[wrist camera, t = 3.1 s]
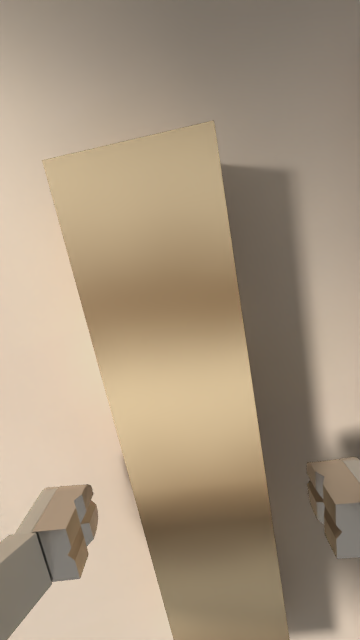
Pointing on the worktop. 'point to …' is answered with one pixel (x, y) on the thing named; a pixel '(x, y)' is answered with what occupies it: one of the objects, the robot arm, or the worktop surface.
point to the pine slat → (176, 371)
